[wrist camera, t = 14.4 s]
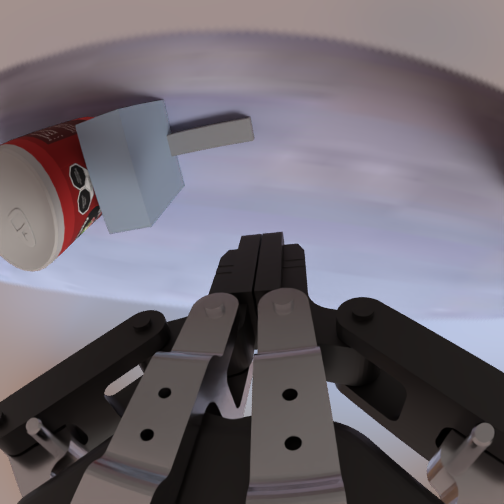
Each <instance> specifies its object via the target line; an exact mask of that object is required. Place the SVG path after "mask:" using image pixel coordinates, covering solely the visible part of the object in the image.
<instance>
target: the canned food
mask: <svg viewBox="0 0 504 504" xmlns="http://www.w3.org/2000/svg"><path fill="white" fill-rule="evenodd" d="M92 118H95V117H83V118H78V119H75V120H71V121H68V122H64V123H61V124H57V125H54V126H51V127H48V128H45V129H42V130H39V131H36V132H33V133H30V134H27V135H24V136H21V137H19V138H16V139H13V140H10V141H8V142H6V143H4V144H1V145H0V256H1V257H3V258H4V259H5V260H6V261H7V262H9V263H10V264H12V265H13V266H15V267H17V268H19V269H22V270H25V271H39V270H42V269H44V268H46V267H47V266H48V265H49V264H51V263H52V262H53V261H54V260H55V259H56V258H57V257H58V256H59V255H60V254H62V253H63V252H64V251H65V250H66V249H67V248H68V247H69V246H70V245H71V244H72V243H73V242H74V241H75V240H76V239H77V238H78V237H79V236H80V235H81V234H82V233H83V232H84V231H85V230H86V229H87V228H88V227H89V226H90V225H91V224H93V223H94V222H95V221H96V220H97V219H98V218H99V217H100V216H101V215H102V212H101V209H100V206H99V203H98V200H97V197H96V194H95V191H94V188H93V185H92V182H91V179H90V176H89V172H88V169H87V166H86V162H85V159H84V156H83V152H82V149H81V145H80V141H79V138H78V134H77V130H76V126H75V125H77V124H80V123H82V122H85V121H87V120H90V119H92Z"/></svg>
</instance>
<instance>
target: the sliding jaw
mask: <svg viewBox="0 0 504 504" xmlns="http://www.w3.org/2000/svg"><path fill="white" fill-rule="evenodd" d="M75 126H76V130H77V134H78V138H79V141H80V145H81V149H82V152H83V156H84V159H85V162H86V166H87V169H88V172H89V176H90V179H91V182H92V185H93V188H94V191H95V194H96V197H97V200H98V203H99V206H100V209H101V212H102V215H103V217H104V220H105V223H106V226H107V228H108V231H109V234H113V233H119V232H124V231H130V230H135V229H141V228H147V227H152V226H153V224H154V223H155V222H156V221H157V219H158V218H159V217H160V215H161V214H162V213H163V212H164V210H165V209H166V208H167V207H168V205H169V204H170V203H171V202H172V200H173V199H174V198H175V197H176V196H177V194H178V193H179V192H180V191H181V189H182V188H183V187H184V186H185V185H184V181H183V178H182V174H181V170H180V166H179V162H178V158H177V155H181V154H185V153H190V152H195V151H200V150H205V149H210V148H215V147H220V146H226V145H231V144H237V143H243V142H249V141H253V140H254V133H253V128H252V123H251V118H250V117H247V118H241V119H236V120H230V121H225V122H220V123H215V124H210V125H205V126H201V127H196V128H192V129H187V130H183V131H179V132H174V133H171V129H170V125H169V121H168V116H167V112H166V108H165V103H164V100H159V101H154V102H148V103H143V104H138V105H134V106H129V107H124V108H120V109H117V110H114V111H111V112H108V113H105V114H103V115H100V116H97V117H95V118H92V119H90V120H87V121H85V122H82V123H80V124H77V125H75Z"/></svg>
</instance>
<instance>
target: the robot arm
mask: <svg viewBox="0 0 504 504" xmlns="http://www.w3.org/2000/svg"><path fill="white" fill-rule="evenodd" d="M256 349H258V353H257V354H254V350H256ZM253 355H254V357H253ZM252 360H253V361H252ZM138 364H139V366H140V368H141V369H142V371H143V373H144V374H143V375H142V376H141V377H139V378H138V379H136V380H135V381H134V382H132V383H131V384H129V385H128V386H126V387H125V388H123V389H122V390H121V391H119V392H118V393H116V394H115V395H112V396H107V395H105V394H104V392H105V389H106V388H107V386H108V385H109V384H111V383H112V382H113V381H115V380H117V379H118V378H120V377H121V376H122V375H124V374H125V373H127V372H128V371H130V370H131V369H133V368H134V367H136V366H137V365H138ZM252 375H253V383H252V416H248V417H243V416H244V410H245V406H246V402H247V397H248V393H249V388H250V384H251V379H252ZM326 381H328V382H333V383H335V384H336V387H337V388H338V390H339V391H340V392H341V393H342V394H344V395H345V396H346V397H347V398H348V399H350V400H351V401H352V402H353V403H355V404H356V405H357V406H358V407H360V408H361V409H362V410H363V411H364V412H366V413H367V414H368V415H369V416H371V417H372V418H373V419H375V420H376V421H377V422H378V423H380V424H381V425H382V426H383V427H385V428H386V429H387V430H389V431H390V432H391V433H393V434H394V435H395V436H396V437H398V438H399V439H400V440H401V441H403V442H404V443H405V444H407V445H408V446H409V447H411V448H412V449H413V450H415V451H416V452H417V453H419V454H420V455H421V456H423V457H424V458H425V459H427V460H428V461H429V463H428V466H427V478H428V481H429V483H430V485H431V486H432V487H433V488H434V489H435V490H436V491H437V493H438V494H439V496H440V499H441V500H440V499H439V498H438V497H437V496H435V495H434V494H432V492H430V491H429V490H428V489H427V488H425V487H424V486H423V485H422V484H421V483H419V482H418V481H417V480H416V479H415V478H413V477H412V476H411V475H410V474H409V473H408V472H406V471H405V470H404V469H403V468H402V467H401V466H399V465H398V464H397V463H396V462H395V461H394V460H392V459H391V458H390V457H389V456H388V455H387V454H385V453H384V452H383V451H382V450H381V449H380V448H379V447H378V446H377V445H375V444H374V443H373V442H372V441H371V440H370V439H369V438H367V437H366V436H365V435H363V434H362V433H360V432H359V431H357V430H355V429H353V428H351V427H349V426H347V425H344V424H341V423H337V422H334V421H333V419H332V413H331V406H330V400H329V394H328V388H327V383H326ZM0 449H1V450H3V452H4V453H5V454H6V455H7V456H8V457H9V461H10V464H11V467H12V470H13V473H14V476H15V479H16V481H17V484H18V487H19V490H20V492H21V495H22V497H23V498H22V499H21V500H20V501H19V502H18V503H17V504H504V373H503V372H502V371H500V370H498V369H497V368H495V367H493V366H491V365H490V364H488V363H486V362H485V361H483V360H481V359H479V358H478V357H476V356H474V355H473V354H471V353H469V352H468V351H466V350H464V349H462V348H460V347H459V346H457V345H455V344H454V343H452V342H450V341H449V340H447V339H445V338H443V337H441V336H440V335H438V334H436V333H435V332H433V331H431V330H429V329H427V328H426V327H424V326H422V325H421V324H419V323H417V322H415V321H414V320H412V319H410V318H408V317H407V316H405V315H403V314H401V313H399V312H398V311H396V310H394V309H392V308H391V307H389V306H387V305H385V304H383V303H382V302H380V301H378V300H376V299H372V298H367V297H358V298H353V299H350V300H347V301H345V302H344V303H342V304H341V305H340V306H339V308H338V310H335V309H328V308H324V307H321V306H319V305H317V304H315V303H314V302H313V301H312V300H311V299H310V298H309V296H308V289H307V276H306V265H305V254H304V250H303V249H302V247H301V246H300V245H299V244H288V245H284V238H283V232H276V233H265V234H256V235H246V236H241V240H240V243H239V247H238V249H236V250H229V251H228V252H227V253H226V254H224V255H223V256H222V257H221V259H220V262H219V265H218V268H217V271H216V275H215V277H214V280H213V283H212V286H211V289H210V292H209V295H207V296H204V297H202V298H201V299H199V300H198V301H197V302H196V303H195V304H194V305H193V307H192V309H191V311H190V313H189V315H188V316H187V317H184V318H180V319H177V320H173V321H169V322H166V319H165V317H164V315H163V314H162V313H160V312H158V311H154V310H148V311H143V312H140V313H137V314H135V315H134V316H132V317H130V318H129V319H127V320H126V321H124V322H123V323H121V324H119V325H118V326H116V327H115V328H113V329H112V330H110V331H108V332H107V333H105V334H104V335H102V336H101V337H100V338H98V339H96V340H95V341H93V342H91V343H90V344H88V345H87V346H85V347H84V348H82V349H81V350H79V351H78V352H76V353H75V354H73V355H71V356H70V357H68V358H67V359H65V360H64V361H62V362H61V363H59V364H57V365H56V366H54V367H53V368H51V369H50V370H49V371H47V372H45V373H44V374H42V375H41V376H39V377H38V378H36V379H35V380H33V381H31V382H30V383H28V384H27V385H25V386H24V387H22V388H21V389H19V390H18V391H16V392H15V393H13V394H12V395H10V396H9V397H7V398H6V399H5V400H3V401H1V402H0Z"/></svg>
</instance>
